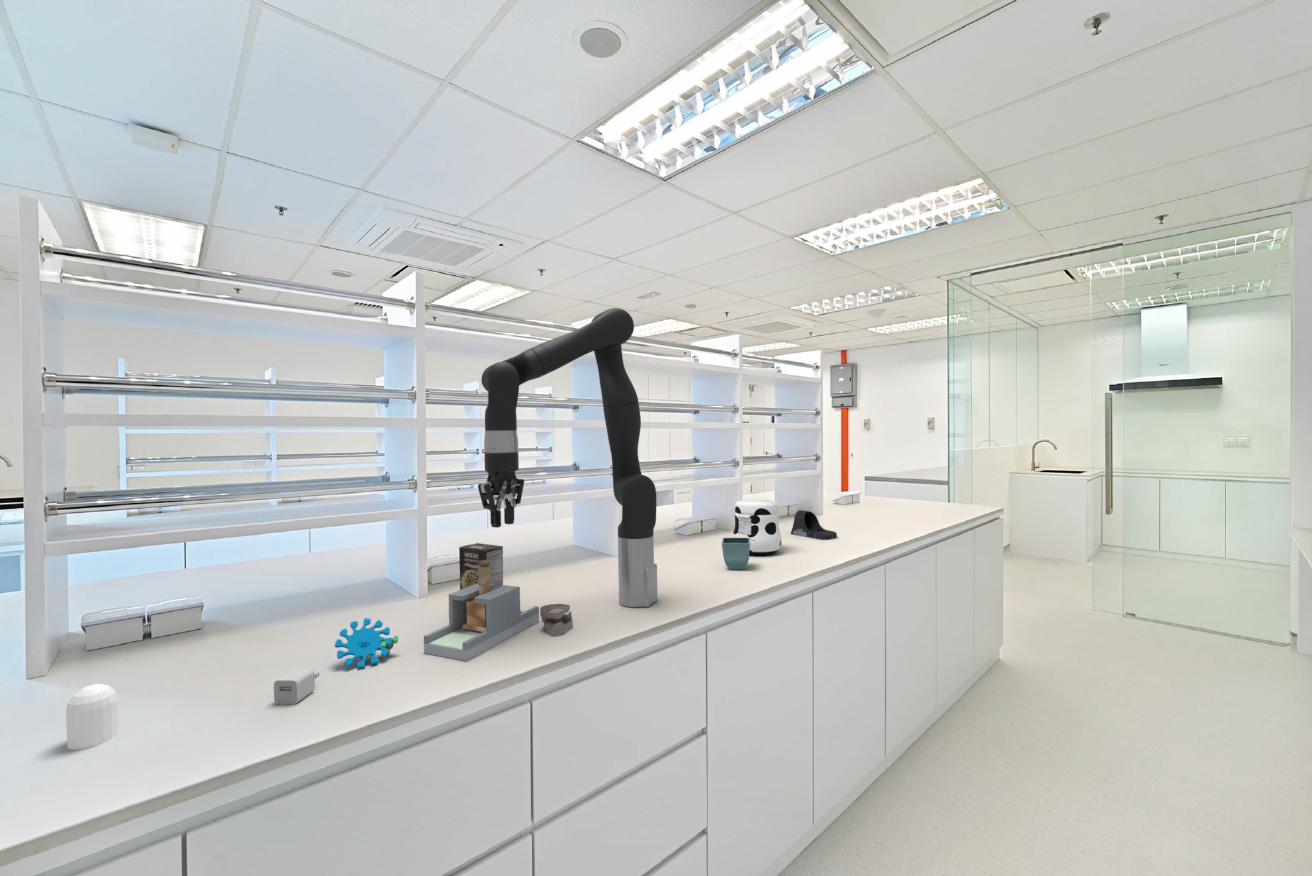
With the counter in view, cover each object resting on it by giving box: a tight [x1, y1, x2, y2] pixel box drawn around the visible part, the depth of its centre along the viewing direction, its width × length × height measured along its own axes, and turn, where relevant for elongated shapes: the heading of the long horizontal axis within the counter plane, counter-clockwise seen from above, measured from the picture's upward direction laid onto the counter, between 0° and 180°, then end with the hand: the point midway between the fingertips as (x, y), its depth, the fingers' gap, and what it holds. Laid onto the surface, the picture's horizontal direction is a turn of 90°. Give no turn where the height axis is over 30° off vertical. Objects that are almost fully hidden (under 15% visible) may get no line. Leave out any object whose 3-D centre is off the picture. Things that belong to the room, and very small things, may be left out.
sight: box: [790, 509, 838, 541], centre depth 228 cm, size 9×18×10 cm, turn 35°
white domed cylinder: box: [65, 683, 120, 751], centre depth 82 cm, size 5×5×8 cm
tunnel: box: [423, 583, 540, 662], centre depth 121 cm, size 11×24×10 cm, turn 157°
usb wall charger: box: [273, 668, 320, 705], centre depth 95 cm, size 4×7×4 cm, turn 177°
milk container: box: [732, 499, 782, 555], centre depth 199 cm, size 17×17×18 cm
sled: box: [463, 560, 491, 632], centre depth 121 cm, size 6×7×14 cm
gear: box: [334, 617, 400, 669], centre depth 110 cm, size 11×6×10 cm
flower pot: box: [721, 537, 750, 571], centre depth 177 cm, size 9×9×9 cm
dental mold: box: [539, 603, 574, 638], centre depth 124 cm, size 8×7×5 cm
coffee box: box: [458, 542, 504, 591], centre depth 139 cm, size 9×6×16 cm
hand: (502, 525), depth 127 cm, fingers open, 4 cm apart
